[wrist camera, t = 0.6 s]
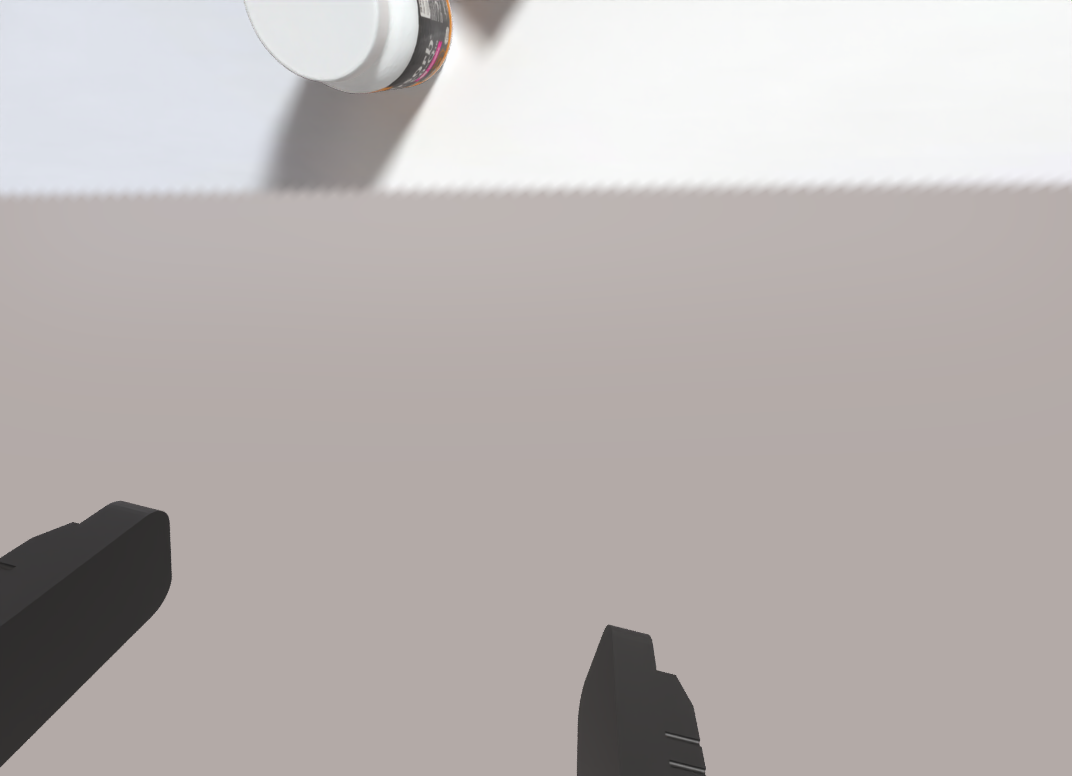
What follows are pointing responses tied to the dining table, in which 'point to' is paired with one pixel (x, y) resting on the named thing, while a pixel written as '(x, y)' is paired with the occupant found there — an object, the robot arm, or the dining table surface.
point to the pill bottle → (356, 40)
